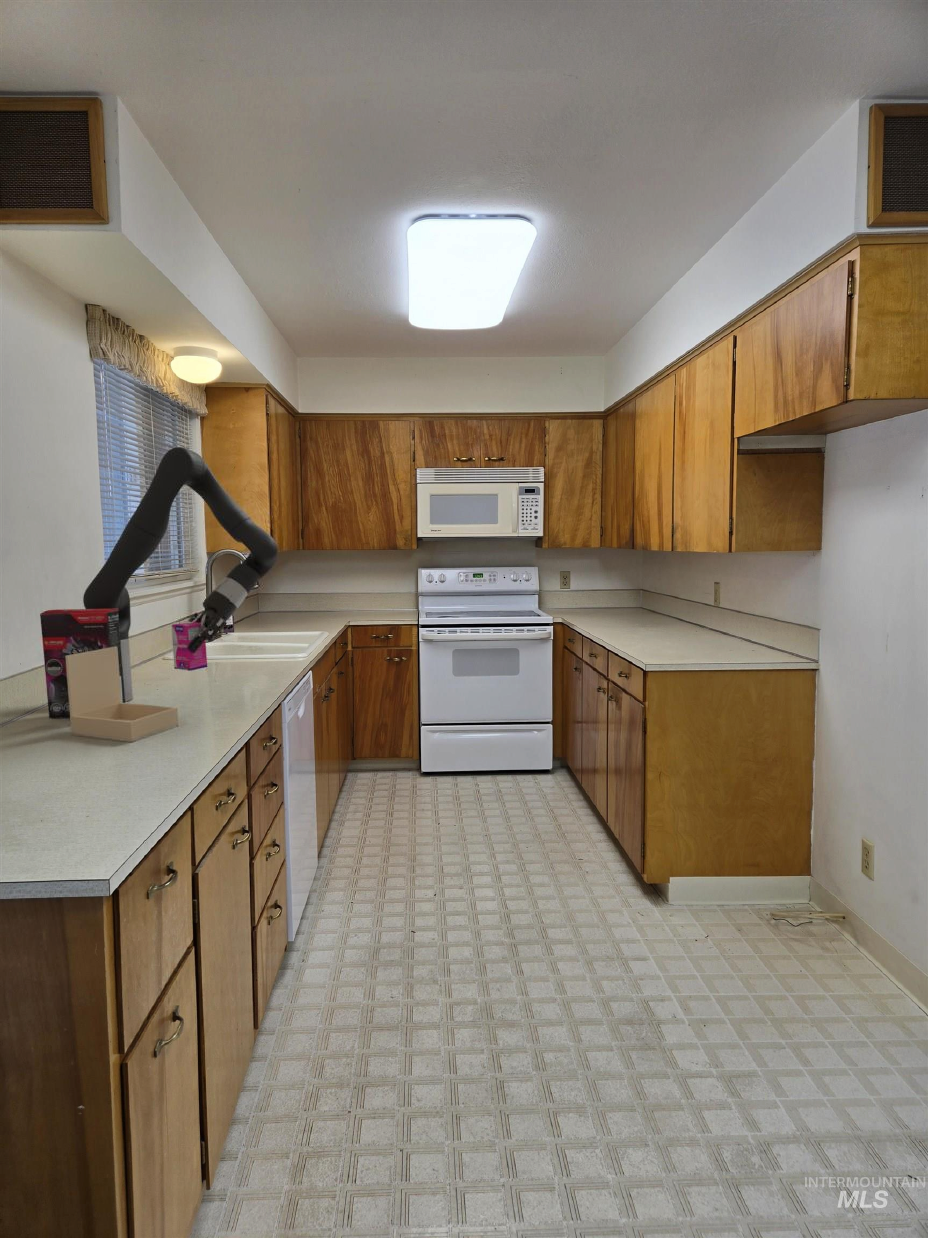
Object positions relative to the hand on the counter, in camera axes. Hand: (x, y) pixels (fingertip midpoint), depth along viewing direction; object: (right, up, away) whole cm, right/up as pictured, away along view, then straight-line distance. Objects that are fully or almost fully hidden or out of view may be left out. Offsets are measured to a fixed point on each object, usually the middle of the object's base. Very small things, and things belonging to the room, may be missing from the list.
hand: (183, 649), depth 176 cm
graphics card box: (-26, -17, +4) cm, 32 cm away
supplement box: (+1, -5, +2) cm, 5 cm away
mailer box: (-9, -19, -11) cm, 23 cm away
